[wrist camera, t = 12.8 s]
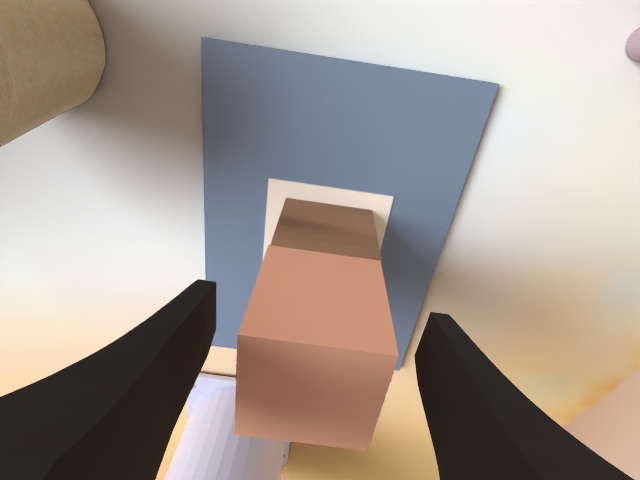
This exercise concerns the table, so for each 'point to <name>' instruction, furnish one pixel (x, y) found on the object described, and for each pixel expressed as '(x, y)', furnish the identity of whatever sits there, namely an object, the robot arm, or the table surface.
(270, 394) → the terracotta block
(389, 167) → the board
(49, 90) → the flower pot
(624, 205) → the table surface
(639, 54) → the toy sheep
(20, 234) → the table surface
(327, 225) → the walnut block
